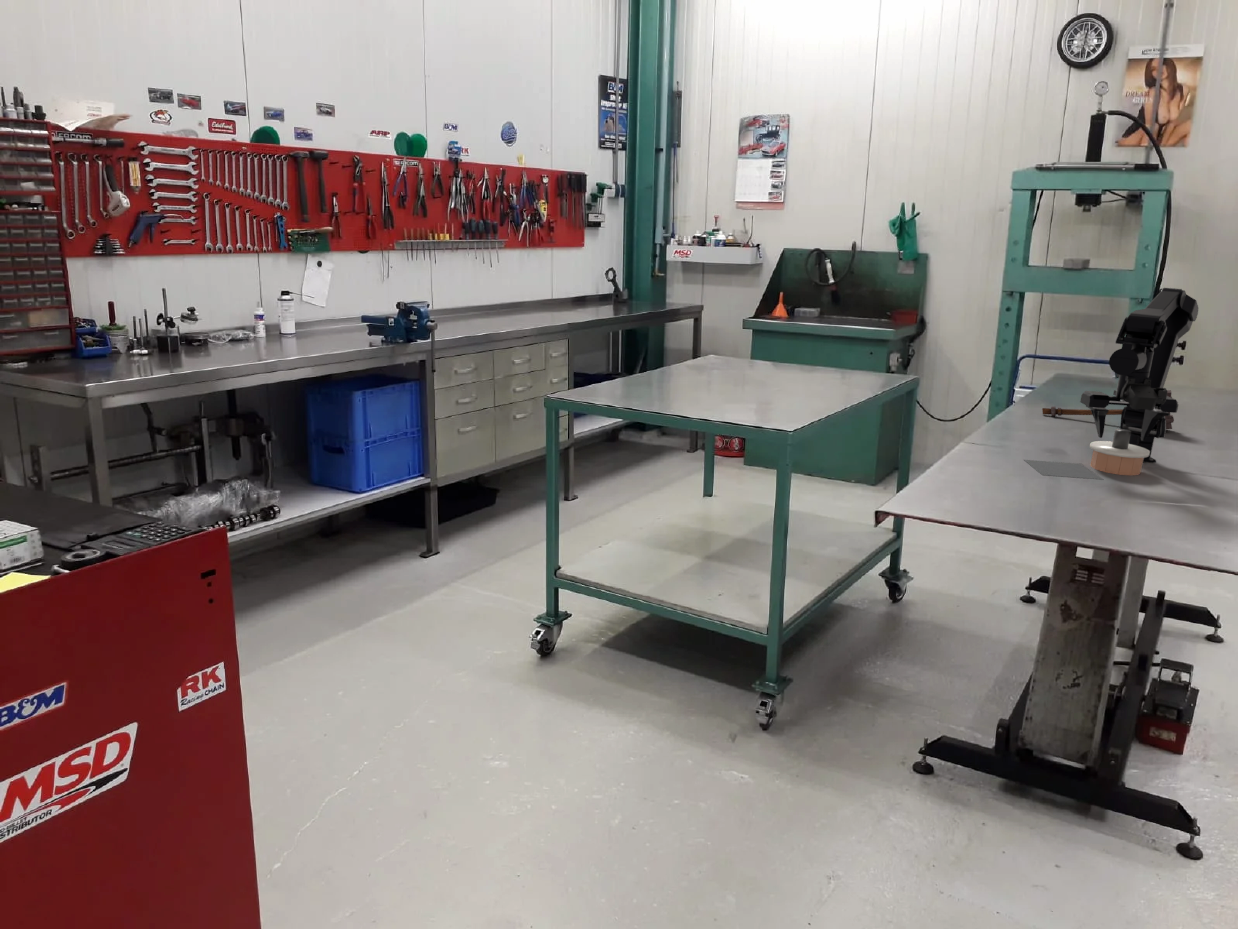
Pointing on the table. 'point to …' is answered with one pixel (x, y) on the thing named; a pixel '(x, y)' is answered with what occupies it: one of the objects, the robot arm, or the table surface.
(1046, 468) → the mat
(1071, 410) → the hammer
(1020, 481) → the table surface
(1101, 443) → the lid
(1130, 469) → the bowl
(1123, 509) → the table surface
